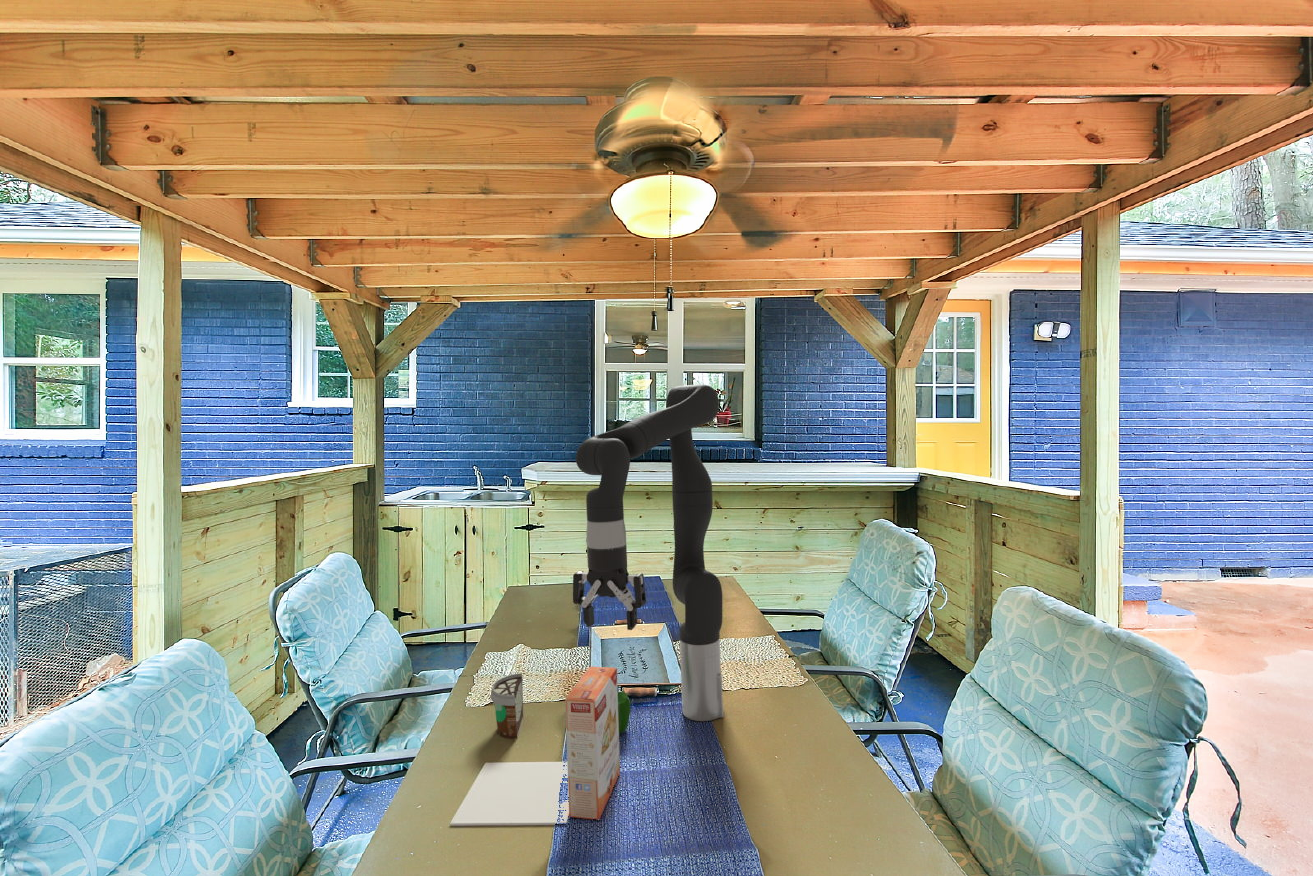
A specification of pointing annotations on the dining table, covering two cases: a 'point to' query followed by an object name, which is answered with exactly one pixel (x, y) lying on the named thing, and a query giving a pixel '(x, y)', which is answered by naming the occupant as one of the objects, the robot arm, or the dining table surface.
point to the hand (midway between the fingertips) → (610, 627)
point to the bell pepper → (623, 711)
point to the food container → (508, 705)
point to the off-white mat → (514, 795)
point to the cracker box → (592, 742)
